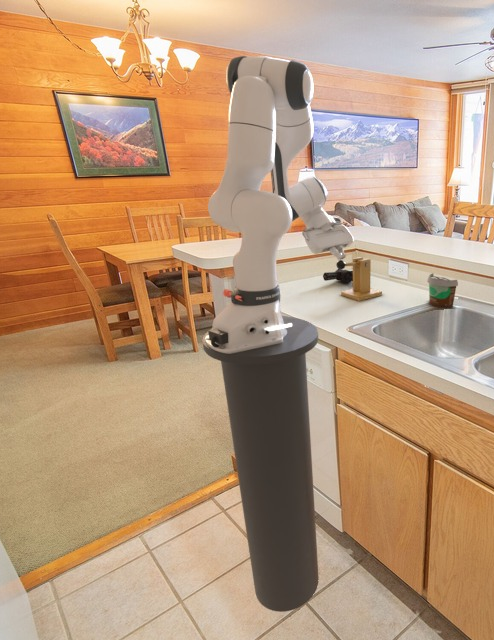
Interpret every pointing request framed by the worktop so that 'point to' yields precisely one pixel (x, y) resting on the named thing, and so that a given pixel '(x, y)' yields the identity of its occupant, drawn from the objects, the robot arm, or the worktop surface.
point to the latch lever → (347, 264)
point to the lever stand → (361, 282)
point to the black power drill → (339, 275)
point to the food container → (441, 291)
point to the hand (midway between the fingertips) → (342, 258)
